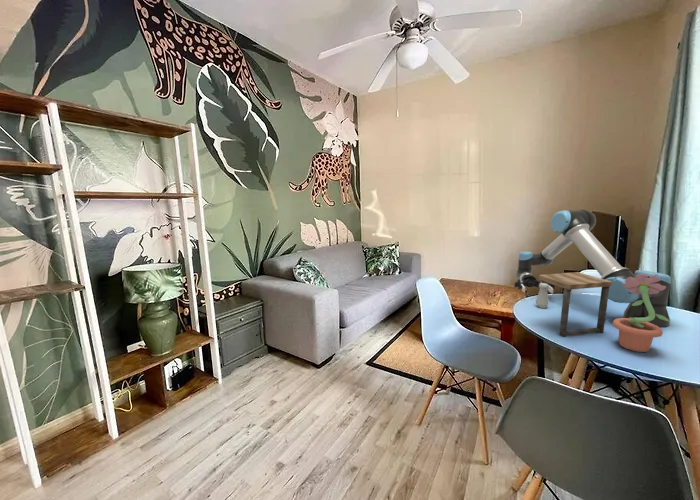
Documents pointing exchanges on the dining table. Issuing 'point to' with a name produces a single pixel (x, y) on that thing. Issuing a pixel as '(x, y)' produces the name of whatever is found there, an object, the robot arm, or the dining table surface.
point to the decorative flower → (639, 330)
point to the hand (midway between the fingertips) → (538, 290)
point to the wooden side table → (569, 283)
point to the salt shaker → (542, 296)
